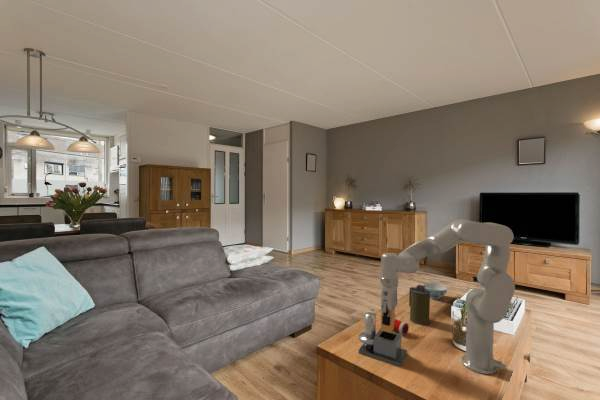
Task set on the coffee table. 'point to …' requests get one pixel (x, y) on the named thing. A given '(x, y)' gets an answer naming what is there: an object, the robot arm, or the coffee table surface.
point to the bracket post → (381, 343)
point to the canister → (419, 305)
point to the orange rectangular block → (391, 327)
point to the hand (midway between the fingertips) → (387, 322)
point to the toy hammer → (401, 327)
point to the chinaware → (436, 290)
